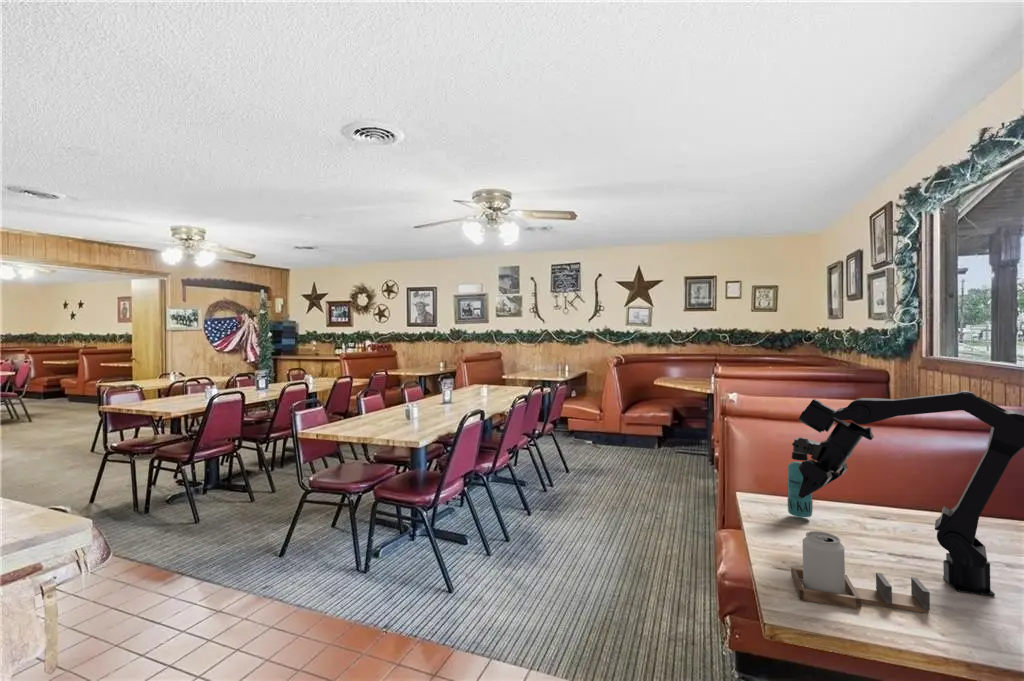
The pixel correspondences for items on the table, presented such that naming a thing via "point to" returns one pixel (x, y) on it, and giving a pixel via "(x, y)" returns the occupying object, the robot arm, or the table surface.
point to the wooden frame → (867, 594)
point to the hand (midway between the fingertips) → (806, 493)
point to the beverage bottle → (797, 489)
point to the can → (823, 563)
